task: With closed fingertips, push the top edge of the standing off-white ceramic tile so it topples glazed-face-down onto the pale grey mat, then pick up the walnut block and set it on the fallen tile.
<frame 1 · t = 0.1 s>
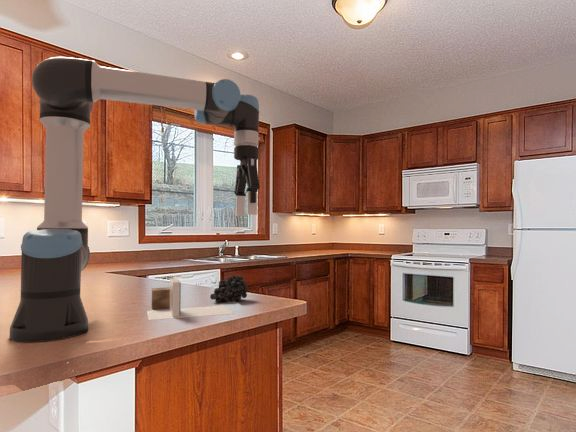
hand: (245, 215, 120), 28 cm above the countertop, fingers open, 13 cm apart
walnut block: (160, 309, 115), on the countertop
mat: (189, 314, 108), on the countertop
fruit: (227, 302, 127), on the countertop
tile: (174, 313, 107), point 1 cm above the countertop, touching mat
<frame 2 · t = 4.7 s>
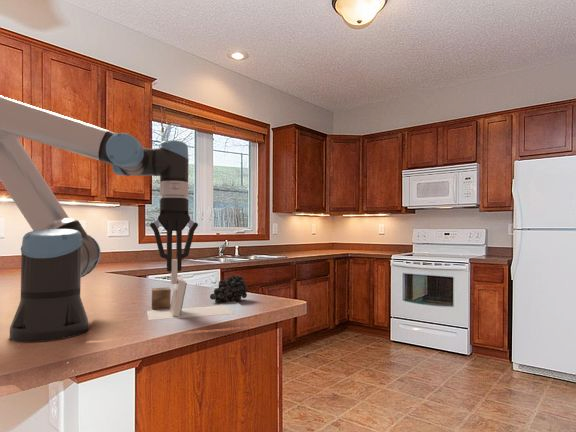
hand: (174, 283, 107), 9 cm above the countertop, fingers closed
tile: (174, 312, 107), point 1 cm above the countertop, tilted 10°, touching mat
everything else where it was.
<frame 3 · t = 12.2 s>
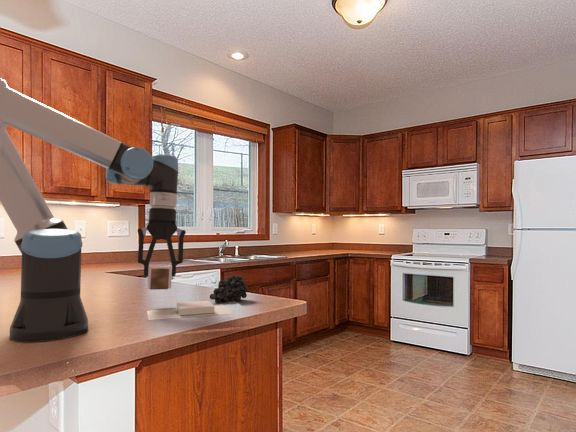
hand: (159, 287, 113), 7 cm above the countertop, fingers closed on walnut block, 5 cm apart
walnut block: (158, 288, 115), point 6 cm above the countertop, touching gripper
tile: (178, 309, 107), point 2 cm above the countertop, tilted 90°, touching mat
everything else where it was.
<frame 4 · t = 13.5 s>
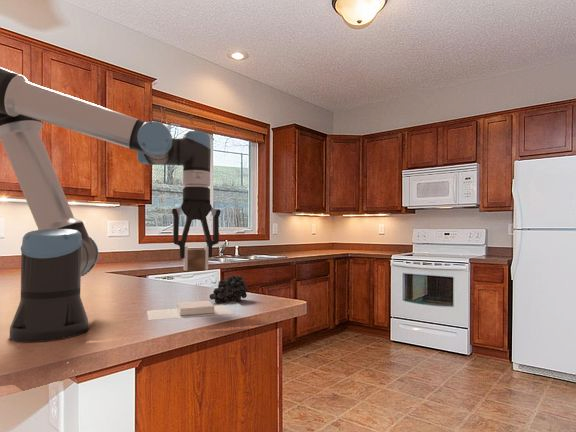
hand: (195, 269, 109), 12 cm above the countertop, fingers closed on walnut block, 5 cm apart
walnut block: (194, 270, 112), point 12 cm above the countertop, touching gripper
everything else where it was.
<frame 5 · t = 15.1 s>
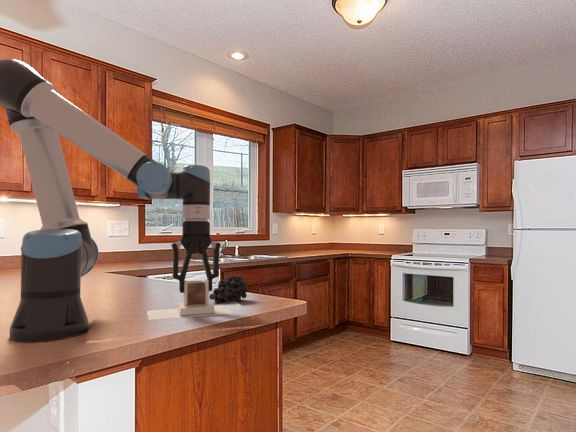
hand: (195, 303, 109), 3 cm above the countertop, fingers closed on tile, walnut block, 5 cm apart
walnut block: (194, 303, 111), point 3 cm above the countertop, touching gripper, tile
tile: (178, 309, 107), point 2 cm above the countertop, tilted 90°, touching gripper, mat, walnut block
everything else where it was.
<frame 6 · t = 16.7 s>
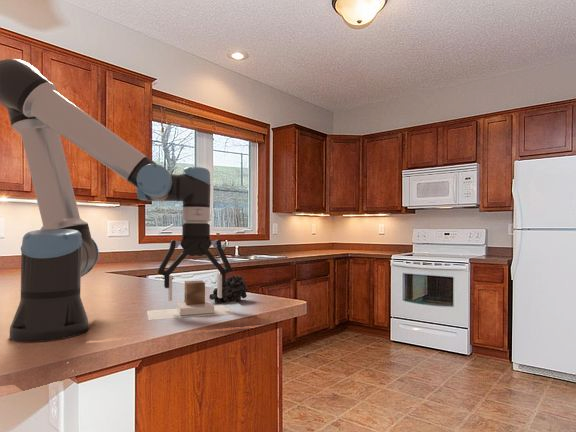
hand: (195, 298, 109), 4 cm above the countertop, fingers open, 13 cm apart
walnut block: (194, 303, 111), point 3 cm above the countertop, touching tile
tile: (178, 309, 107), point 2 cm above the countertop, tilted 90°, touching mat, walnut block
everything else where it was.
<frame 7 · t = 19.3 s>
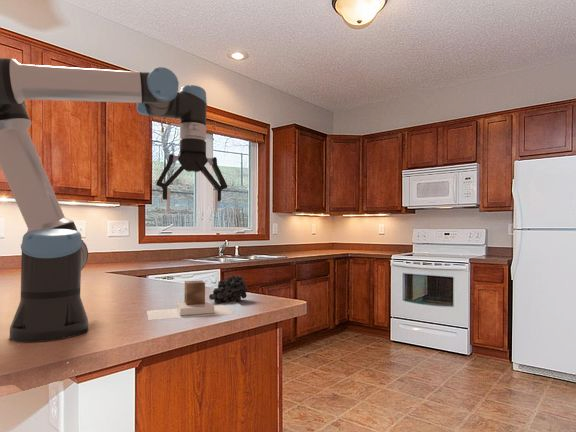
hand: (192, 212, 114), 29 cm above the countertop, fingers open, 13 cm apart
nothing on the countertop moved.
at the end: tile tilted 90°; tile inside the target area (1.0 cm from its centre), point 1.6 cm above the countertop; walnut block inside the target area (2.4 cm from its centre), point 2.6 cm above the countertop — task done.
